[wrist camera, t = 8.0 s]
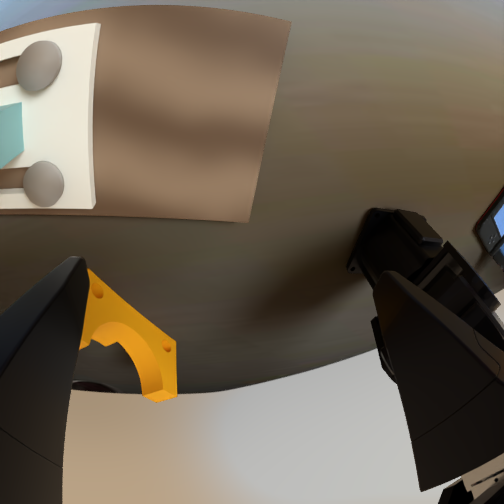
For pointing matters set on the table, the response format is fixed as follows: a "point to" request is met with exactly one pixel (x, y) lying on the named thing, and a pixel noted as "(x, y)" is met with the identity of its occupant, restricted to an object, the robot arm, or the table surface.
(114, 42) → the boss board
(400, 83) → the table surface
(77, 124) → the keyhole panel
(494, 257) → the handheld game console
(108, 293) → the pipe clamp
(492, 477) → the robot arm
